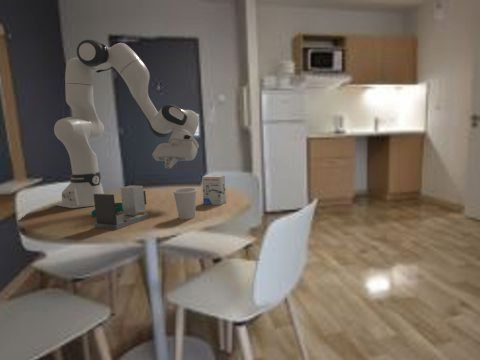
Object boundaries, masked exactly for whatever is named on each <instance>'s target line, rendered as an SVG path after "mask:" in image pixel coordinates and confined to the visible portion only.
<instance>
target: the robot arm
mask: <svg viewBox="0 0 480 360" xmlns="http://www.w3.org/2000/svg"><path fill="white" fill-rule="evenodd" d="M76 56H77V57H72V58H70V59H69V60H67V62H66V67H65V74H64V76H65V77H64V79H65V80H64V81H65V82H64V83H65V84H64V85H65V88H64V89H65V102H66V104H67V105H68V106H69V107H70V109H71V111H72V112H73V113H72V114H73V116H68V117H64V118H61V119H58V120H57V121H56V122H55V124H54V126H53V131H54V135H55V137H56V138H57V139H58V140H59V141H60V142H61V143H62V144H63V145H64V147H65V149H66V150H67V151H66V152H67V154H68V156H69V159H70V160H69V161H70V166H71V173H72V174H71V175H68V177H69V178H68V179H70V183H69V184H68V185H67V186H66V187H65V188H64V189H63V190H62V191H61V201H59V202H57V203H56V206H58V207H63V208H69V209H78V208H85V207H93V206H94V207H95V203H94V195H93V194H105V192H104V187H103V184H102V182H101V172H100V169H99V160H98V155H97V154H96V152H94V151H93V149H92V148H91V145H90V142H94V141H97V140H98V139H101V138H102V137H103V135H104V134H105V126H104V123H103V122H102V121H101V120H100V119H99V116H98V113H97V111H96V106H95V100H94V99H95V98H94V97H95V96H94V75H95V73H102V72H105V71H109V70H111V69H113V68H114V69H115V70H116V71H117V72H118V74H119V75H120V76H121V78H122V79H123V81H124V83H125V84H126V86H127V87H128V90H129V93H130V94H131V97H132V99H133V100H134V102H135V104H136V105H137V107H138V108H139V110H140V113H142V115H143V116H144V118H145V120H146V121H147V124H148V126H149V130H150V132H152V134H153V135H154V136H156V137H159V138H167V137H169V135H170V134H171V136H170V137H169V139H168V141H167V142H166V141H165V142H164V141H163V142H162V143H160V144H158V145H157V146H156V148H155V149H154V151H152V154H151V155H152V158H153V159H154V160H155V161H156V162H164V165H163V167H164V168H165V169H172V168H173V167H174V165H176V164H177V163H178V162H179V161H181V162H182V161H186V162H187V161H193V160H195V158H196V157H197V154H198V149H199V148H200V145H199V143H198V141H197V140H196V139H195V138H194V135H195V134H196V132H197V129H198V126H199V123H200V122H199V120H200V119H199V115H198V114H197V113H196V112H195V111H194V110H191V109H182V108H180V107H178V106H176V105H175V104H171V103H168V104H164V105H163V106H162V107H161V108H160V109H159V111H158V110H157V108H156V107H155V105H154V103H153V101H152V100H151V98H150V97H149V83H150V78H151V76H150V71H149V70H148V67H147V66H146V64H145V63H144V62H143V60H142V59H141V58H140V57H139V56H138V54H137V53H136V52H135V51H134V50H133V49H132V48H131V47H130V46H129V45H127V44H126V43H125V42H119V43H115V44H114V45H112V46H110V47H109V46H107V44H105V43H103V42H100V41H97V40H95V39H85V40H82V41H81V42H79V43H78V45H77V47H76Z"/></svg>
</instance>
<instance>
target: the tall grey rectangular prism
mask: <svg viewBox="0 0 480 360" xmlns="http://www.w3.org/2000/svg"><path fill="white" fill-rule="evenodd" d="M120 193H121V195H120V196H121V203H122V206H123V211H122V214H123V215H132V216H137V215H140V214H148V211H146V205H147V197H146V196H147V195H146V191H145V190H144V186H143V185H132V184H131V185H127V186H122V187H120Z"/></svg>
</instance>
